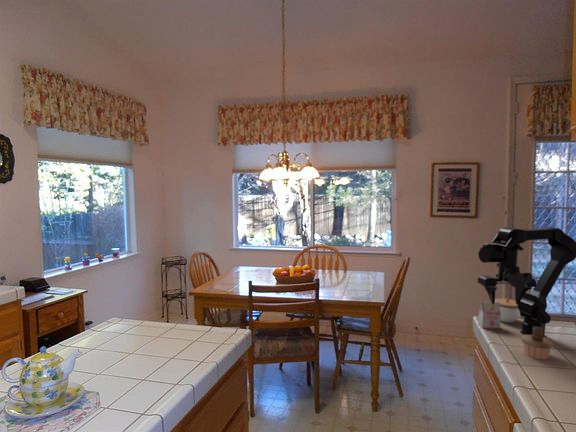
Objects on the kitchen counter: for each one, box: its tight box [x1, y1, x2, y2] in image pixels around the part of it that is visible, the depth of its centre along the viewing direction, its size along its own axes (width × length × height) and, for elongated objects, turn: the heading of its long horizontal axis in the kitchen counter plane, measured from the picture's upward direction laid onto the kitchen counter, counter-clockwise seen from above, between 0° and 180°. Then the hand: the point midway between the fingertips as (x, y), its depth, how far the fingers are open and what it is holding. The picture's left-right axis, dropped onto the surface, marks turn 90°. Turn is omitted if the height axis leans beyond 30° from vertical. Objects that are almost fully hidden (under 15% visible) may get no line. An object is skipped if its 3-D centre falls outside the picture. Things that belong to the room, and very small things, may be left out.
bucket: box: [523, 342, 551, 360], centre depth 128 cm, size 7×7×4 cm
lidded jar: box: [495, 297, 521, 324], centre depth 162 cm, size 11×11×9 cm
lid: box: [521, 326, 555, 349], centre depth 128 cm, size 9×9×5 cm
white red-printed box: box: [477, 301, 501, 330], centre depth 153 cm, size 4×7×10 cm, turn 88°
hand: (505, 304), depth 142 cm, fingers open, 9 cm apart
